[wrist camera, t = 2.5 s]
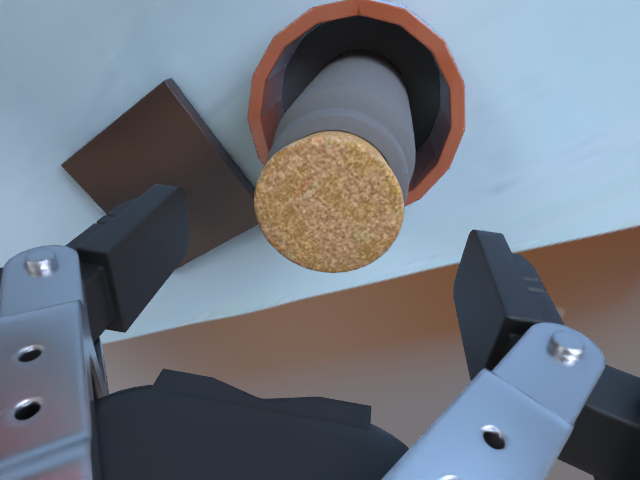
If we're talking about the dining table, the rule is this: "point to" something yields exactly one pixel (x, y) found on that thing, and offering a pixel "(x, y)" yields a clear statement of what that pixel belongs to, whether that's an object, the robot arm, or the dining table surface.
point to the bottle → (340, 167)
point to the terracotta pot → (373, 4)
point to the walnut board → (168, 167)
